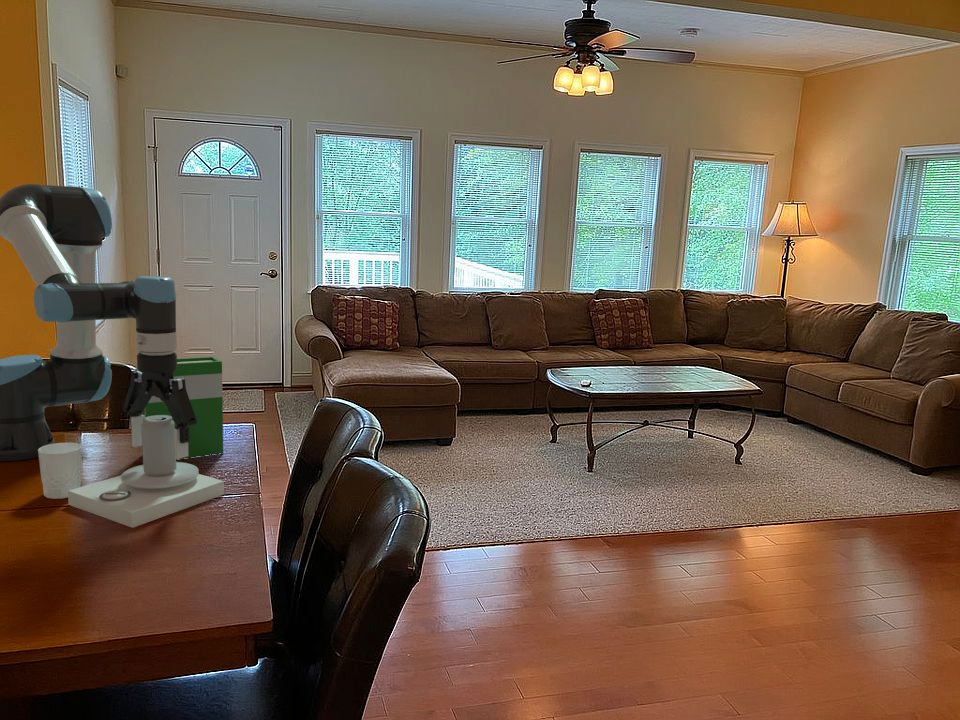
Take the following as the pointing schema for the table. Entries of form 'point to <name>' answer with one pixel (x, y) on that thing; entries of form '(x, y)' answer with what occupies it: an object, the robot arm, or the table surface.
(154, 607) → the table surface
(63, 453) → the white cup
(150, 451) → the beverage can
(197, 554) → the table surface
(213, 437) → the hardback book
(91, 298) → the robot arm
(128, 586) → the table surface
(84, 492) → the kitchen scale
